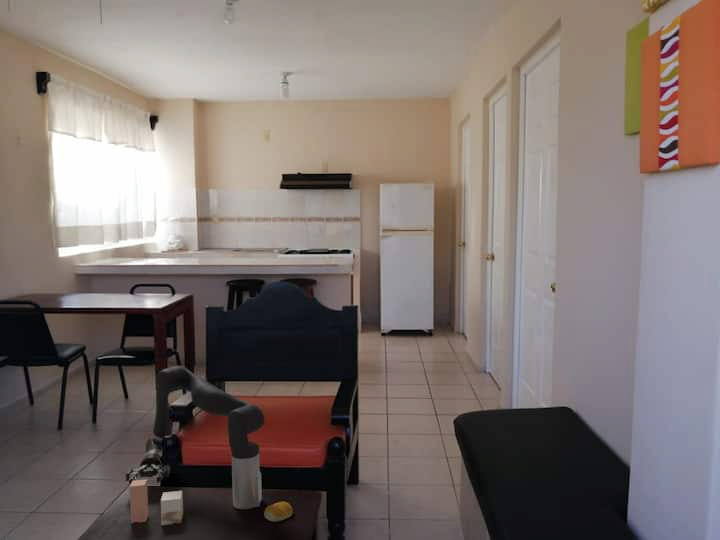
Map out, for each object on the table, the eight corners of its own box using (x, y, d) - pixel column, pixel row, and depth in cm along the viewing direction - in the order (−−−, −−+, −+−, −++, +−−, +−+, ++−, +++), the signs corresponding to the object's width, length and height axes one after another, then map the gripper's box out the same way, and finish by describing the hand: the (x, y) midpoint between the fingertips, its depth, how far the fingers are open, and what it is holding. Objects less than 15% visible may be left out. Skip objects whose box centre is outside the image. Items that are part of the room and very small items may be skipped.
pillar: (148, 515, 186) (147, 479, 185) (145, 521, 181) (144, 485, 180) (133, 516, 185) (132, 480, 184) (131, 523, 180) (129, 486, 180)
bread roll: (297, 514, 184) (297, 502, 184) (275, 525, 178) (275, 512, 178) (281, 506, 190) (281, 495, 190) (259, 516, 184) (259, 504, 183)
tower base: (183, 514, 186) (182, 502, 186) (181, 523, 180) (180, 511, 180) (164, 516, 185) (163, 504, 184) (161, 525, 179) (161, 513, 179)
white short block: (182, 502, 186) (182, 490, 185) (180, 510, 180) (180, 498, 180) (163, 504, 184) (163, 492, 184) (161, 513, 179) (160, 500, 178)
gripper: (132, 454, 208) (122, 472, 192) (172, 451, 211) (166, 468, 195) (132, 474, 208) (123, 493, 192) (172, 470, 211) (166, 489, 195)
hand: (144, 481), depth 193 cm, fingers open, 8 cm apart
